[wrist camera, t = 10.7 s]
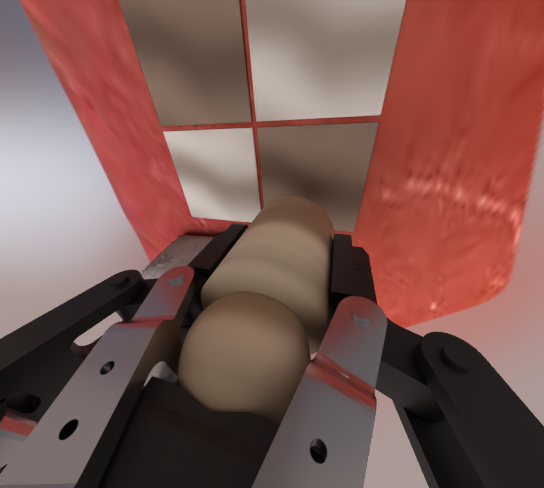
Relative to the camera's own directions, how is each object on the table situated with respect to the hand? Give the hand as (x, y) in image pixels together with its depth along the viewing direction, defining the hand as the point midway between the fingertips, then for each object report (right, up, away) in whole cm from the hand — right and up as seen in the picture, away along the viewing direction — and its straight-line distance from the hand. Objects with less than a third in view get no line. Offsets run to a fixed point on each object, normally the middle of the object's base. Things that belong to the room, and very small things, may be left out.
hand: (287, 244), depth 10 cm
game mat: (-2, +9, +5) cm, 11 cm away
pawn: (0, +1, +1) cm, 1 cm away
